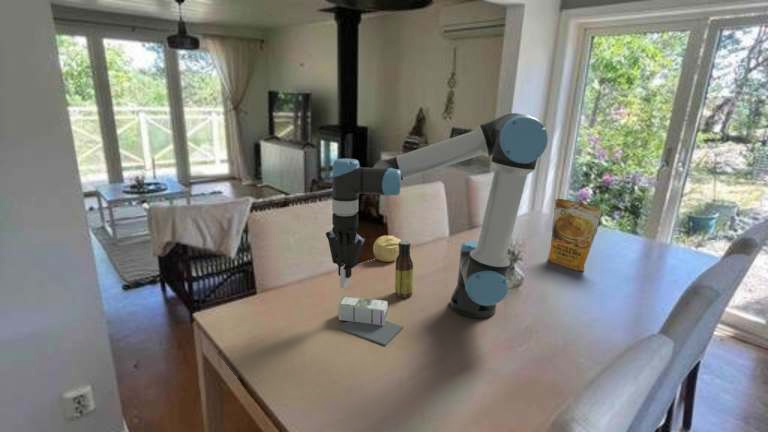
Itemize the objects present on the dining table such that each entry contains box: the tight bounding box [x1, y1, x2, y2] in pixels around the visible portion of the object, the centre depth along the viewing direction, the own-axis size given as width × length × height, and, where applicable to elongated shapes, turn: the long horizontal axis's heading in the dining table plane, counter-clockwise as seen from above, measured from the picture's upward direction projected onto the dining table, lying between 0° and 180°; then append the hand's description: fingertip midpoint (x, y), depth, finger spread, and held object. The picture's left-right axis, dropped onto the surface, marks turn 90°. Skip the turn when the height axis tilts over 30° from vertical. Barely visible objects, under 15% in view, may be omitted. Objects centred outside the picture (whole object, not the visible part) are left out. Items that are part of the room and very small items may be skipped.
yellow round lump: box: [372, 235, 402, 263], centre depth 174 cm, size 12×12×11 cm
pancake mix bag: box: [547, 198, 603, 272], centre depth 173 cm, size 7×19×28 cm, turn 40°
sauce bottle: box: [394, 240, 414, 299], centre depth 142 cm, size 6×6×20 cm
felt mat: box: [338, 320, 404, 347], centre depth 123 cm, size 16×11×1 cm
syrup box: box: [338, 295, 389, 325], centre depth 127 cm, size 6×6×14 cm
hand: (344, 286), depth 125 cm, fingers closed
